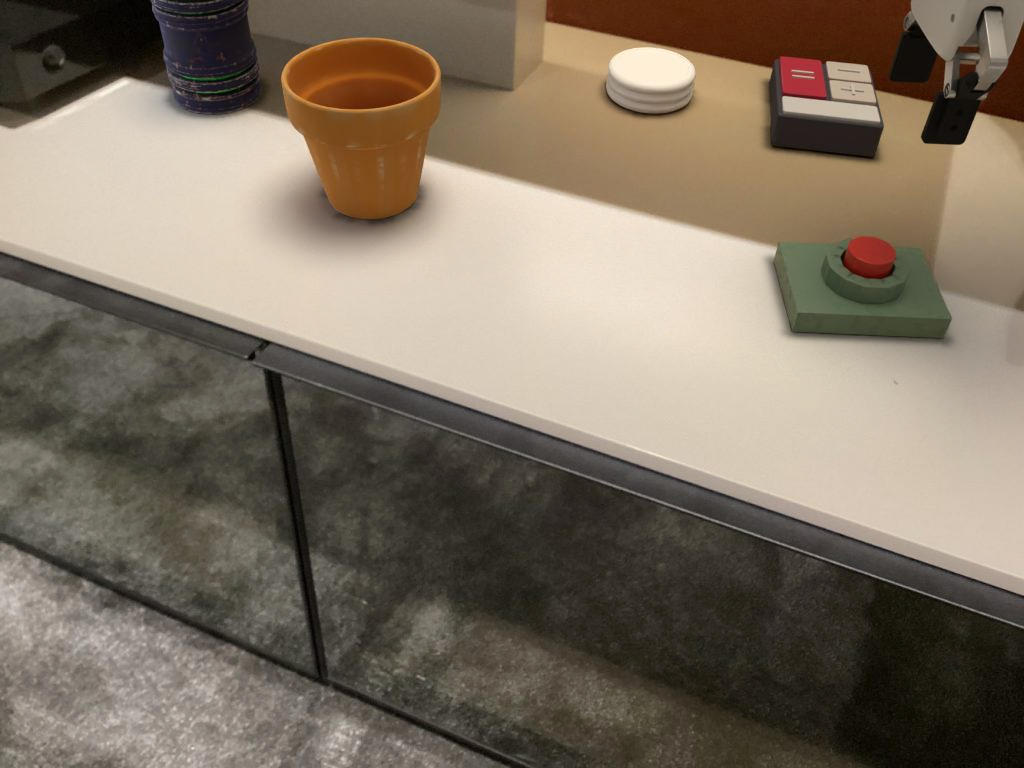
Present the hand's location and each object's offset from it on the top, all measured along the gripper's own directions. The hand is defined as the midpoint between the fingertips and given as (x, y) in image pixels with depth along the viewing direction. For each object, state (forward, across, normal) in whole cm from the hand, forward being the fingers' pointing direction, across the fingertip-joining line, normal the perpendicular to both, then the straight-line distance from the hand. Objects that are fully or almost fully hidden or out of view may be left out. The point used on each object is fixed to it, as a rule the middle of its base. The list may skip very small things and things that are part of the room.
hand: (923, 110), depth 76 cm
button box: (+17, -3, +2) cm, 17 cm away
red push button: (+13, -3, +1) cm, 14 cm away
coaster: (+17, +33, +17) cm, 41 cm away
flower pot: (+17, +10, +46) cm, 50 cm away
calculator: (+17, +29, -2) cm, 34 cm away
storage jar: (+17, +29, +66) cm, 74 cm away
